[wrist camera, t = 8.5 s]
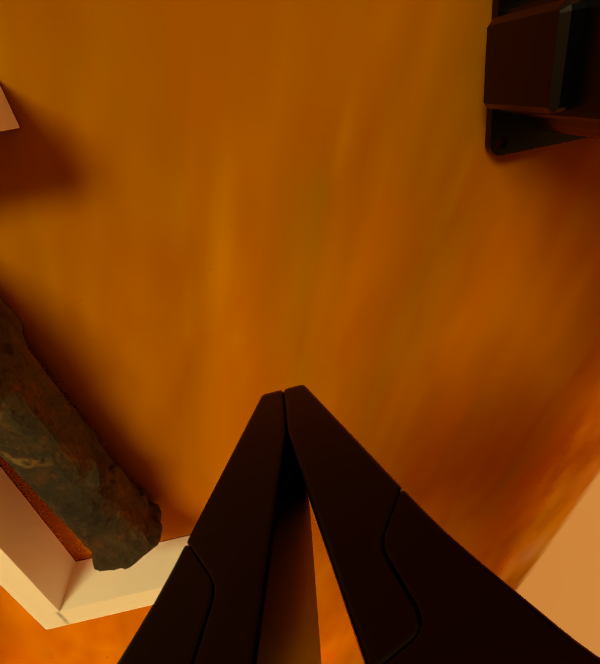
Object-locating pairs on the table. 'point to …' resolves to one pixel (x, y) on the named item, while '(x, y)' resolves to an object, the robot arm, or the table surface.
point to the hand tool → (68, 459)
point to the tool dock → (55, 561)
